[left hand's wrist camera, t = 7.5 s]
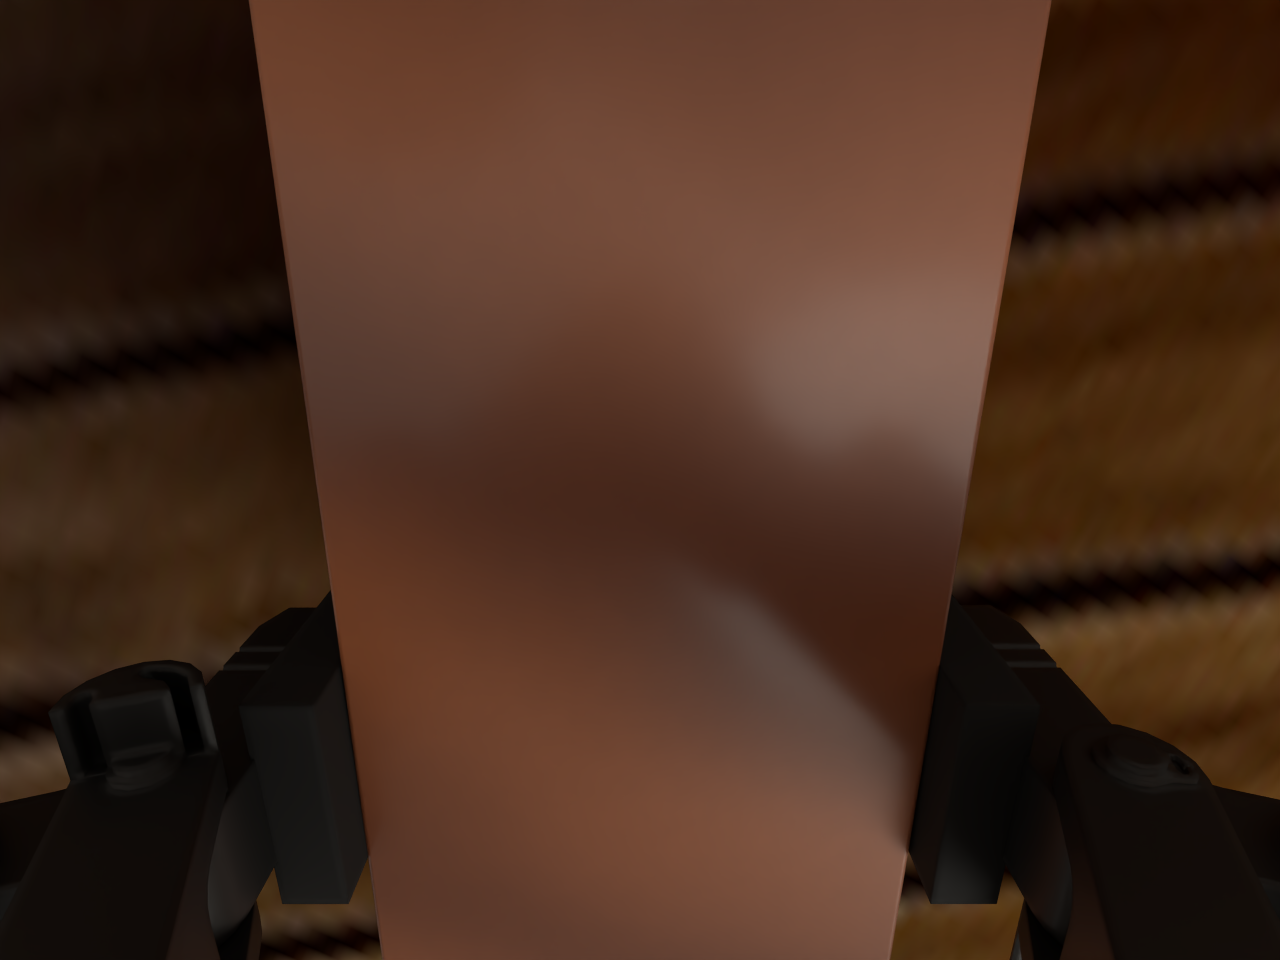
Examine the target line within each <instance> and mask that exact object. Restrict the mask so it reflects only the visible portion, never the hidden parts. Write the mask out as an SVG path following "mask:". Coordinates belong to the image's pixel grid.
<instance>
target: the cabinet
mask: <svg viewBox="0 0 1280 960" xmlns="http://www.w3.org/2000/svg"><path fill="white" fill-rule="evenodd" d="M249 5H250V12H251V20H252V27H253V34H254V41H255V48H256V55H257V63H258V70H259V77H260V84H261V91H262V98H263V106H264V113H265V120H266V127H267V134H268V141H269V149H270V156H271V163H272V170H273V177H274V184H275V192H276V199H277V206H278V213H279V220H280V228H281V235H282V242H283V249H284V256H285V263H286V271H287V278H288V285H289V292H290V299H291V306H292V314H293V321H294V328H295V335H296V342H297V349H298V357H299V364H300V371H301V378H302V385H303V393H304V400H305V407H306V414H307V421H308V428H309V436H310V443H311V450H312V457H313V464H314V471H315V479H316V486H317V493H318V500H319V507H320V514H321V522H322V529H323V536H324V543H325V550H326V557H327V565H328V572H329V579H330V586H331V593H332V601H333V608H334V615H335V622H336V629H337V636H338V644H339V651H340V658H341V665H342V672H343V679H344V687H345V694H346V701H347V708H348V715H349V722H350V730H351V737H352V744H353V751H354V758H355V766H356V773H357V780H358V787H359V794H360V801H361V809H362V816H363V823H364V830H365V837H366V844H367V852H368V859H369V866H370V873H371V880H372V887H373V895H374V902H375V909H376V916H377V923H378V930H379V938H380V945H381V952H382V959H383V960H890V956H891V950H892V944H893V938H894V932H895V926H896V920H897V915H898V909H899V903H900V897H901V891H902V885H903V879H904V873H905V867H906V861H907V855H908V849H909V843H910V837H911V831H912V825H913V820H914V814H915V808H916V802H917V796H918V790H919V784H920V778H921V772H922V766H923V760H924V754H925V748H926V742H927V736H928V731H929V725H930V719H931V713H932V707H933V701H934V695H935V689H936V683H937V677H938V671H939V665H940V659H941V653H942V647H943V641H944V636H945V630H946V624H947V618H948V612H949V606H950V600H951V594H952V588H953V582H954V576H955V570H956V564H957V558H958V552H959V546H960V541H961V535H962V529H963V523H964V517H965V511H966V505H967V499H968V493H969V487H970V481H971V475H972V469H973V463H974V457H975V451H976V446H977V440H978V434H979V428H980V422H981V416H982V410H983V404H984V398H985V392H986V386H987V380H988V374H989V368H990V362H991V357H992V351H993V345H994V339H995V333H996V327H997V321H998V315H999V309H1000V303H1001V297H1002V291H1003V285H1004V279H1005V273H1006V267H1007V262H1008V256H1009V250H1010V244H1011V238H1012V232H1013V226H1014V220H1015V214H1016V208H1017V202H1018V196H1019V190H1020V184H1021V178H1022V172H1023V167H1024V161H1025V155H1026V149H1027V143H1028V137H1029V131H1030V125H1031V119H1032V113H1033V107H1034V101H1035V95H1036V89H1037V83H1038V77H1039V72H1040V66H1041V60H1042V54H1043V48H1044V42H1045V36H1046V30H1047V24H1048V18H1049V12H1050V6H1051V0H249Z"/></svg>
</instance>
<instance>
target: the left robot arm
mask: <svg viewBox="0 0 1280 960" xmlns="http://www.w3.org/2000/svg"><path fill="white" fill-rule="evenodd" d="M48 714H49V717H50V720H51V723H52V726H53V729H54V732H55V735H56V738H57V741H58V744H59V747H60V750H61V753H62V756H63V759H64V762H65V765H66V768H67V771H68V774H69V777H70V780H71V781H70V783H69V785H68V787H67V789H64V790H60V791H56V792H51V793H46V794H42V795H37V796H32V797H28V798H23V799H18V800H14V801H9V802H4V803H0V960H259V953H260V945H261V937H262V928H261V921H260V914H259V910H258V906H257V902H256V899H257V897H258V895H259V893H260V892H261V890H262V888H263V886H264V884H265V883H266V881H267V879H268V877H269V875H270V873H271V872H272V870H273V868H275V873H276V877H277V882H278V886H279V891H280V895H281V900H282V904H349V901H350V899H351V897H352V894H353V892H354V889H355V887H356V885H357V882H358V880H359V877H360V875H361V872H362V870H363V868H364V865H365V863H366V860H367V858H368V852H367V844H366V837H365V830H364V823H363V816H362V809H361V801H360V794H359V787H358V780H357V773H356V766H355V758H354V751H353V744H352V737H351V730H350V722H349V715H348V708H347V701H346V694H345V687H344V679H343V672H342V665H341V658H340V651H339V644H338V636H337V629H336V622H335V615H334V608H333V601H332V593H331V590H330V592H329V593H328V594H327V595H326V597H325V598H324V599H323V600H322V602H321V603H320V604H319V605H318V607H317V608H288V609H287V610H285V611H283V612H282V613H280V614H278V615H277V616H275V617H273V618H272V619H270V620H269V621H267V622H265V623H264V624H262V625H260V626H259V627H258V628H257V629H256V630H255V631H254V632H253V634H252V635H251V636H250V637H249V638H248V639H247V640H246V641H245V642H244V644H243V645H242V646H241V647H240V651H239V652H235V654H234V655H233V656H232V657H231V658H230V659H229V660H228V661H227V662H226V664H225V665H224V668H223V671H218V673H217V674H216V675H215V676H214V677H213V678H212V679H211V680H210V681H209V683H208V684H207V685H206V686H205V684H204V680H203V676H202V672H201V671H200V670H198V669H197V668H196V667H194V666H193V665H192V664H190V663H185V662H179V661H173V660H163V661H150V662H142V663H138V664H134V665H130V666H126V667H122V668H118V669H115V670H112V671H110V672H107V673H105V674H103V675H100V676H98V677H95V678H93V679H90V680H88V681H86V682H85V683H83V684H81V685H80V686H78V687H77V688H75V689H74V690H72V691H70V692H69V693H67V694H66V695H64V696H63V697H62V698H61V699H60V700H59V701H58V702H57V703H56V704H55V705H54V706H53V708H52V709H51V710H50V711H49V712H48ZM908 850H909V853H910V855H911V858H912V860H913V862H914V865H915V867H916V870H917V872H918V874H919V877H920V879H921V882H922V884H923V886H924V889H925V891H926V894H927V896H928V899H929V901H930V903H931V904H997V900H998V896H999V891H1000V887H1001V882H1002V878H1003V873H1004V869H1005V864H1006V866H1007V867H1008V869H1009V871H1010V873H1011V875H1012V876H1013V878H1014V880H1015V882H1016V884H1017V886H1018V887H1019V889H1020V891H1021V893H1022V895H1023V896H1024V902H1023V906H1022V910H1021V914H1020V918H1019V923H1018V927H1017V931H1016V935H1015V939H1014V944H1013V948H1012V952H1011V956H1010V960H1280V800H1278V799H1273V798H1269V797H1264V796H1259V795H1254V794H1250V793H1245V792H1240V791H1236V790H1231V789H1226V788H1222V787H1218V786H1214V785H1212V784H1211V782H1210V780H1209V778H1208V777H1207V776H1206V775H1205V773H1204V772H1203V771H1202V770H1201V768H1200V767H1199V766H1198V764H1197V763H1196V762H1195V761H1193V760H1192V759H1191V758H1189V757H1188V756H1187V755H1185V754H1184V753H1183V752H1181V751H1180V750H1179V749H1177V748H1176V747H1174V746H1173V745H1171V744H1169V743H1167V742H1165V741H1163V740H1161V739H1158V738H1156V737H1154V736H1152V735H1150V734H1148V733H1146V732H1142V731H1139V730H1135V729H1132V728H1128V727H1125V726H1121V725H1115V724H1111V723H1110V722H1109V721H1108V720H1107V719H1106V718H1105V716H1104V715H1103V714H1102V713H1101V712H1100V711H1099V710H1098V709H1097V708H1096V706H1095V705H1094V704H1093V703H1092V702H1091V701H1090V700H1089V699H1088V698H1087V697H1086V695H1085V694H1084V693H1083V692H1082V691H1081V690H1080V689H1079V688H1078V687H1077V685H1076V684H1075V683H1074V682H1073V681H1072V680H1071V679H1070V678H1069V677H1068V676H1067V674H1066V673H1065V672H1064V671H1063V670H1062V669H1061V668H1057V667H1056V662H1055V661H1054V660H1053V659H1052V658H1051V657H1050V656H1049V655H1048V653H1047V652H1046V651H1045V650H1044V649H1040V645H1039V643H1038V642H1037V641H1036V640H1035V639H1034V638H1033V637H1032V636H1031V635H1030V634H1029V632H1028V631H1027V630H1026V629H1025V628H1024V627H1023V626H1022V625H1021V624H1020V623H1019V622H1017V621H1015V620H1014V619H1012V618H1010V617H1009V616H1007V615H1005V614H1004V613H1002V612H1000V611H999V610H997V609H995V608H994V607H992V606H990V605H960V604H959V603H958V601H957V600H956V599H955V598H954V596H953V595H952V594H951V600H950V606H949V612H948V618H947V624H946V630H945V636H944V641H943V647H942V653H941V659H940V665H939V671H938V677H937V683H936V689H935V695H934V701H933V707H932V713H931V719H930V725H929V731H928V736H927V742H926V748H925V754H924V760H923V766H922V772H921V778H920V784H919V790H918V796H917V802H916V808H915V814H914V820H913V825H912V831H911V837H910V843H909V849H908Z"/></svg>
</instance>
